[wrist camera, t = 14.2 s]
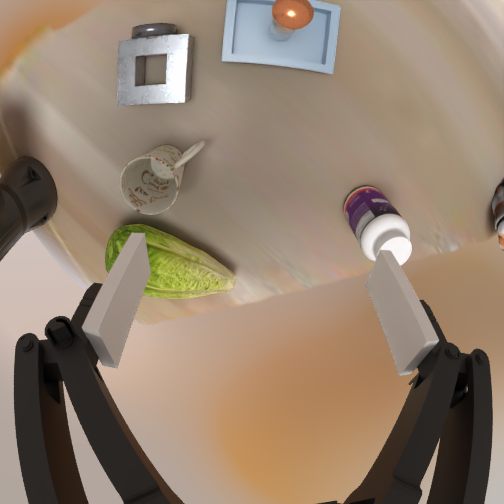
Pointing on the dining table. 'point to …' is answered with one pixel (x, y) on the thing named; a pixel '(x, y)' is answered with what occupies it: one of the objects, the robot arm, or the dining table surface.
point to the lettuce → (173, 265)
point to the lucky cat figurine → (499, 213)
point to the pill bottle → (377, 224)
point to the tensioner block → (155, 44)
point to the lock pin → (289, 18)
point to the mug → (155, 178)
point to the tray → (280, 52)
